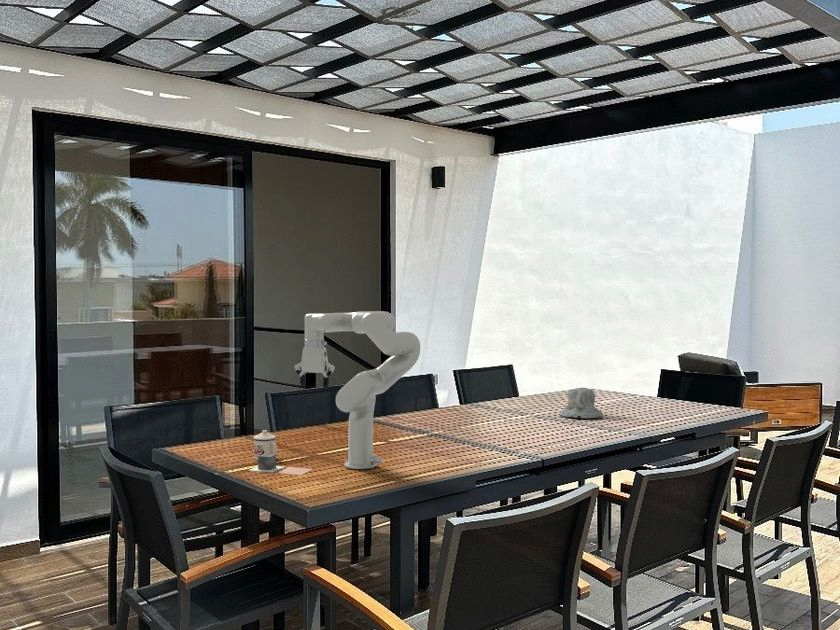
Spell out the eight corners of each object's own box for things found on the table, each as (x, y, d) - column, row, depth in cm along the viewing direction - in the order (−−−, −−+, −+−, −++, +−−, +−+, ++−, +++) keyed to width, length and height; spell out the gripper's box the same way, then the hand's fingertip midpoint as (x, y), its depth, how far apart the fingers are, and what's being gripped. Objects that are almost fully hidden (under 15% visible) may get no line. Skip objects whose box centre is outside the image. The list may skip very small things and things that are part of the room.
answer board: (313, 470, 304) (313, 469, 304) (301, 476, 295) (301, 474, 295) (261, 465, 311) (261, 464, 311) (248, 471, 302) (248, 470, 302)
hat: (612, 417, 429) (613, 390, 428) (578, 421, 419) (578, 392, 418) (582, 410, 452) (583, 384, 451) (549, 413, 442) (549, 386, 441)
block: (276, 467, 306) (276, 454, 306) (269, 470, 302) (269, 457, 302) (264, 466, 308) (264, 453, 308) (258, 469, 303) (258, 456, 303)
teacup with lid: (248, 459, 323) (248, 430, 322) (266, 455, 330) (266, 427, 329) (267, 463, 315) (267, 434, 314) (285, 459, 322) (285, 431, 321)
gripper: (337, 344, 321) (338, 386, 322) (298, 343, 326) (298, 384, 327) (330, 345, 314) (330, 388, 314) (290, 344, 319) (290, 387, 319)
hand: (314, 386), depth 320 cm, fingers open, 9 cm apart
